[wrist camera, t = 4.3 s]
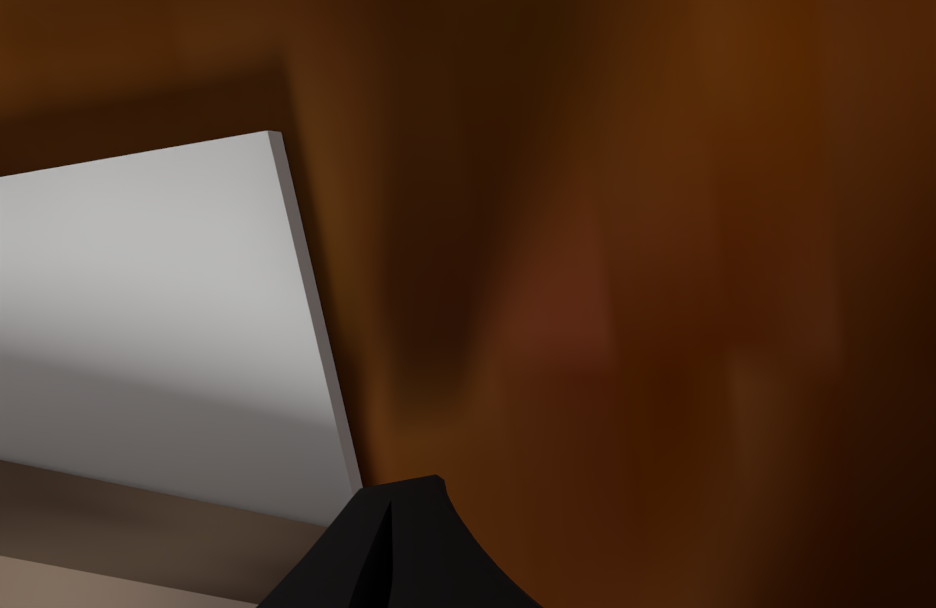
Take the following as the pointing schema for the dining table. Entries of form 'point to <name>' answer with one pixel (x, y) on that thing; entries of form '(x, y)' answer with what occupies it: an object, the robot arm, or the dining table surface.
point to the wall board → (172, 330)
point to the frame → (135, 546)
